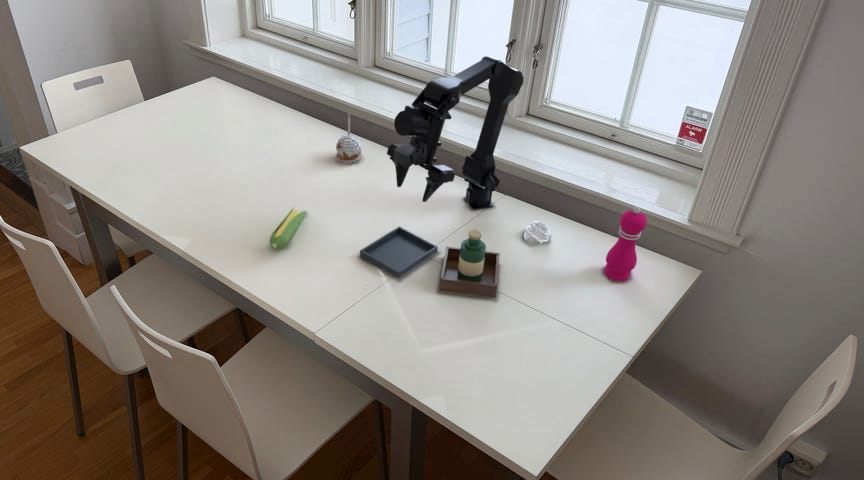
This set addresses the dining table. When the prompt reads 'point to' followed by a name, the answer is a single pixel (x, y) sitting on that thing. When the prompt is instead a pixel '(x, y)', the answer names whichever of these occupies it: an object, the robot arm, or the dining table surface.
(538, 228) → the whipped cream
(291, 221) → the edible corn
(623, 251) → the pepper mill
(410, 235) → the tray
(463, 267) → the bottle
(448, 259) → the crate
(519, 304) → the dining table surface
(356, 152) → the decorative ornament
